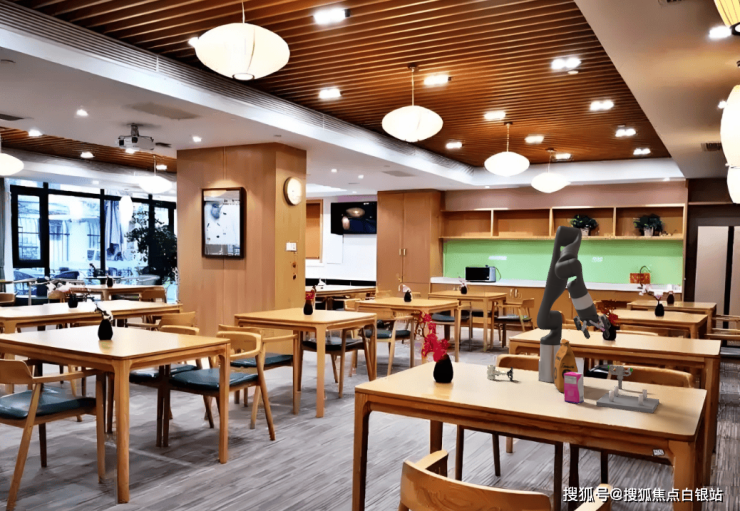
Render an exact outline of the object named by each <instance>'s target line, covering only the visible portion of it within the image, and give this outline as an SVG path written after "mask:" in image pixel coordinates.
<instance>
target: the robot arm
mask: <svg viewBox="0 0 740 511" xmlns="http://www.w3.org/2000/svg"><path fill="white" fill-rule="evenodd" d="M582 239H583V233H582V230H581V229H580V228H579V227H578V228H577V227H573V226H567V225H559V226H558V227H557V229H556V232H555V236H554V242H553V249H552V256H551V261H550V265H549V268H548V272H547V277H546V281H545V286H544V292H543V295H542V300H541V302H540V306H539V308H538V312H537V315H536V327H537V328H538V329H539V330H542V331H549V333H547V334H546V335H543V336H542V337H540V338H539V339H540V340H539V345H540V346H539V347H540V348H539V359H538V381H541V382H546V383H555V380H554V367H555V356H556V353H557V352H558V350H559V349H560V347H561V343H562V342H561V340H562V339H563V337H562V336H563V335H562V334H563V316H562V315H563V314H562V313H561V311H559V310H555V309H554V310H553V309H552V307H553V305H554V304H555V302H556V301H557V300H558V299H559V297H561V295H562V294H563V293H564V292H565V291H566V289H567V291H568V293H569V297H570V299H571V302H572V304H573V307H574V309H575V311H576V314H577V315H575V316H574V317H573V323H574V325H575V328H576V330H577V331H581V332H582V333H583V337H584V338H585V339H586V340H589V339H590V338H591V334H590V332H589V330H588V328H589V327H596V328H597V329H600V330H601V331H602V334H603V336H604V338H605V339H609V337H610V332H609V329H610V327H611V322H610V321H609V318H608V316H607V315H606V314H605V313H603V314H602V315H599V314H598V312H597V308H596V305H595V303H594V301H593V298H592V296H591V294H590V293H589V291H588V289H587V286H586V283H585V281H584V275H583V274H584V273H583V264H582V262H581V261H580V260H579V251H580V248H581V244H582ZM562 247H563V248H562ZM561 248H562V249H561ZM574 277H575V278H574ZM571 278H574V279H573V280H571V281H569V279H571Z"/></svg>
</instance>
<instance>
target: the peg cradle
mask: <svg viewBox="0 0 740 511" xmlns="http://www.w3.org/2000/svg"><path fill="white" fill-rule="evenodd" d="M613 389H614V390H609V391H608V392H605V394H603V395H602V396H601V397H600V398H599V399H597V401H596V404H595V405H596V406H597V407H602V408H610V409H611V408H612V409H617V410H624V409H625V411H627V410H628V411H631V412H632V411H633V412H634V411H635V412H639V411H640V412H641V413H647V412H648V414H653V413H654V412H655V410H656V409H657V407H658V406H659V404H660V399H658V398H654V397H653V398H651V397H648V389H642V393H638V396H637V395H627V394H619V392H620V391H619V390H620V389H619V387H618V385H615V386H614V387H613ZM657 405H658V406H657Z"/></svg>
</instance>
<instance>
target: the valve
mask: <svg viewBox="0 0 740 511" xmlns="http://www.w3.org/2000/svg"><path fill="white" fill-rule="evenodd" d="M486 370H487V371H486V375H487V376H486V379H487V380H489V379H491V380H492V381H494V380H493V379H495V380H496V377H500V376H505V375H506V376H507V378H508V379H509V381H511V382H512V381H513V379H514V367H513V366H510V368H509V370H507V371H505V370H504V371H503V370H502V371H501V370H500V369H496V365H494V364H488V365H487V369H486ZM491 380H490V381H491Z"/></svg>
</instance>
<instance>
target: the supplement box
mask: <svg viewBox="0 0 740 511" xmlns="http://www.w3.org/2000/svg"><path fill="white" fill-rule="evenodd" d="M584 384H585V383H584V373H583V372H578V373H576V372H568V373H565V374H564V392H563V395H564V397H563V398H564V401H563V402H565V403H569V404H575V403H576V405H578V404H582V403H583V402H585V398H584V395H585V394H584V390H585V388H584V387H585V386H584Z"/></svg>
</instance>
